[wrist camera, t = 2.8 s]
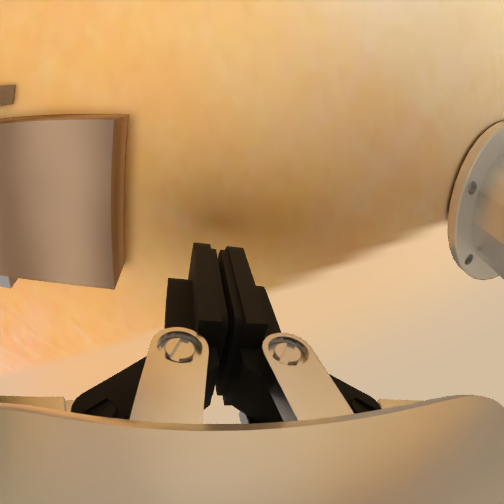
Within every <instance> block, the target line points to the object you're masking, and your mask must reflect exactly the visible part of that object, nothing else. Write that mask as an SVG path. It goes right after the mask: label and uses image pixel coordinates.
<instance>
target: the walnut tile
mask: <svg viewBox="0 0 504 504" xmlns="http://www.w3.org/2000/svg"><path fill="white" fill-rule="evenodd" d="M128 117H129V115H127V114H63V115H41V116H26V117H14V118H3V119H0V275H1V276H8V277H15V278H23V279H30V280H38V281H45V282H53V283H62V284H70V285H79V286H88V287H97V288H107V289H115V287H116V284H117V281H118V278H119V276H120V273H121V271H122V268H123V265H124V263H125V257H124V181H125V158H126V142H127V129H128Z"/></svg>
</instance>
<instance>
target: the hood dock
mask: <svg viewBox="0 0 504 504" xmlns="http://www.w3.org/2000/svg"><path fill="white" fill-rule="evenodd" d="M14 91H15V85H6V86H0V106H3V105H7V104H12V103H13V100H14ZM17 279H18V278H15V277H8V276H1V275H0V286H2V287H7V288H11V287H12V286H13V285H14V283H15V282H16V280H17Z"/></svg>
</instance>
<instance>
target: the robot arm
mask: <svg viewBox="0 0 504 504" xmlns="http://www.w3.org/2000/svg"><path fill="white" fill-rule="evenodd" d="M448 239H449V246H450V250H451V253H452V256H453V258H454V260H455V261H456V263H457V264H458V266H459V267H460V268H461V269H462V270H464V271H465V272H466V273H467V274H468V275H469V276H471V277H473V278H475V279H480V280H487V279H492V278H495V277H497V276H501V277H502V278H503V279H504V121H502V122H499V123H496V124H495V125H493V126H492V127H490V128H489V129H487V130H486V131H485V132H484V133H483V134H482V135H481V136H480V137H479V138H478V139H477V141H476V142H475V144H474V145H473V147H472V148H471V150H470V151H469V153H468V155H467V157H466V159H465V161H464V162H463V164H462V166H461V169H460V171H459V174H458V177H457V179H456V182H455V185H454V189H453V193H452V197H451V201H450V207H449V215H448ZM215 385H216V392H217V395H222V396H223V400H224V405H232V406H234V407H235V408H237V409H238V410H240V413H239V417H240V421H241V424H202V421H203V410H204V409H205V408H206V407H208V406H209V405H210V402H211V397H212V395H213V391H214V387H215ZM0 504H504V407H503V406H502V405H501V404H500V403H498V402H497V401H495V400H493V399H490V398H487V397H483V396H475V395H455V396H446V397H441V398H435V399H430V400H425V401H413V400H412V401H411V400H386V399H379V400H378V402H376V400H375V399H373V398H372V397H370V396H369V395H367V394H365V393H363V392H361V391H359V390H357V389H355V388H354V387H351V386H350V385H348V384H346V383H344V382H343V381H341V380H339V379H337V378H335V377H333V376H332V375H330V374H328V372H327V371H326V369H325V368H324V366H323V365H322V363H321V361H320V360H319V358H318V357H317V355H316V354H315V352H314V351H313V349H312V348H311V346H310V345H309V344H308V343H307V342H306V341H304V340H303V339H302V338H300V337H297V336H295V335H293V334H288V333H281V331H280V328H279V325H278V322H277V320H276V317H275V314H274V312H273V309H272V306H271V303H270V301H269V298H268V295H267V293H266V290H265V288H264V287H262V286H256V285H255V282H254V279H253V276H252V273H251V270H250V267H249V264H248V261H247V258H246V255H245V252H244V249H243V248H238V247H229V246H227V247H226V249H225V250H220V252H219V256H218V258H217V253H216V249H211V247H210V244H202V243H194V244H193V249H192V256H191V263H190V270H189V278H188V280H184V279H174V278H168V286H167V297H166V311H165V329H164V330H161V331H159V332H158V333H157V334H156V335H154V337H153V339H152V341H151V344H150V348H149V351H148V354H147V356H146V357H144V358H143V359H141V360H139V361H138V362H136V363H134V364H133V365H131V366H129V367H128V368H126V369H124V370H122V371H121V372H119V373H117V374H116V375H114V376H112V377H111V378H109V379H107V380H105V381H103V382H102V383H100V384H98V385H97V386H95V387H93V388H91V389H89V390H88V391H86V392H84V393H83V394H81V395H80V396H79V397H77V398H76V400H69V401H65V399H64V397H20V396H0Z"/></svg>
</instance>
